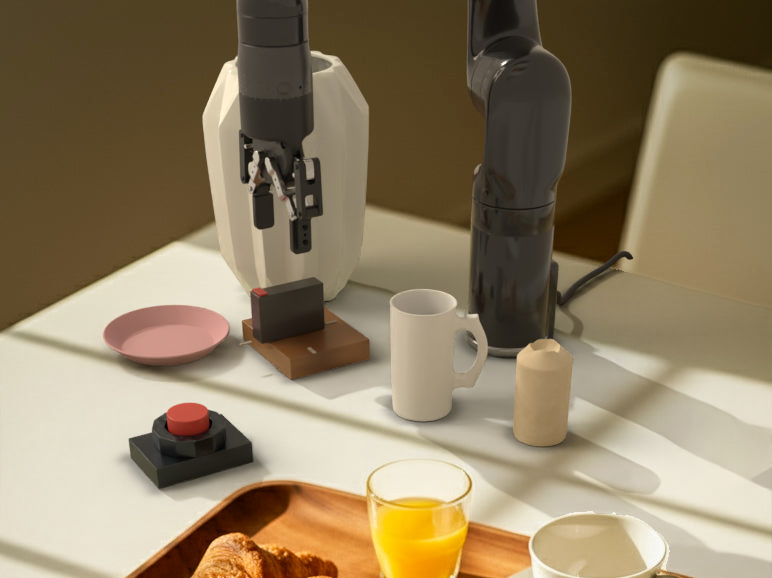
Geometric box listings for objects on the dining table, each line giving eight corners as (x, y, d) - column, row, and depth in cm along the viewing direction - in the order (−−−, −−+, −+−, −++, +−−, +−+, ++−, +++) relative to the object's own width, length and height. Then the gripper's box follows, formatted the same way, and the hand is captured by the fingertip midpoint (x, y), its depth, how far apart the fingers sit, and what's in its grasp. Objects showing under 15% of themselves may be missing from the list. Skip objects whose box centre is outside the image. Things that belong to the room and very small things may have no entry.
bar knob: (315, 321, 154) (314, 274, 151) (325, 328, 153) (323, 280, 149) (252, 337, 151) (249, 288, 147) (261, 344, 149) (258, 295, 146)
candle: (563, 449, 135) (570, 358, 129) (509, 444, 136) (514, 353, 130) (569, 424, 139) (576, 335, 134) (516, 418, 140) (521, 330, 135)
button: (199, 414, 133) (197, 398, 132) (216, 431, 130) (215, 415, 129) (161, 424, 131) (159, 408, 130) (178, 441, 128) (176, 425, 127)
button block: (222, 432, 137) (220, 397, 135) (253, 462, 132) (251, 426, 130) (130, 457, 133) (126, 422, 131) (158, 489, 128) (154, 452, 126)
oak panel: (318, 321, 160) (317, 300, 159) (370, 359, 152) (370, 338, 150) (218, 345, 155) (216, 324, 153) (266, 387, 146) (264, 364, 145)
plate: (83, 365, 150) (81, 348, 149) (135, 314, 162) (133, 299, 160) (204, 379, 147) (202, 363, 146) (248, 327, 159) (247, 311, 158)
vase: (404, 291, 168) (405, 64, 153) (282, 336, 157) (270, 96, 142) (305, 249, 180) (296, 34, 164) (184, 287, 169) (163, 61, 153)
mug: (385, 421, 140) (385, 313, 133) (393, 391, 145) (393, 287, 139) (482, 427, 139) (487, 319, 132) (486, 397, 144) (491, 292, 138)
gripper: (343, 97, 133) (345, 254, 142) (276, 65, 143) (282, 214, 152) (275, 107, 129) (282, 268, 138) (211, 74, 139) (221, 225, 148)
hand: (282, 239), depth 145 cm, fingers open, 8 cm apart
